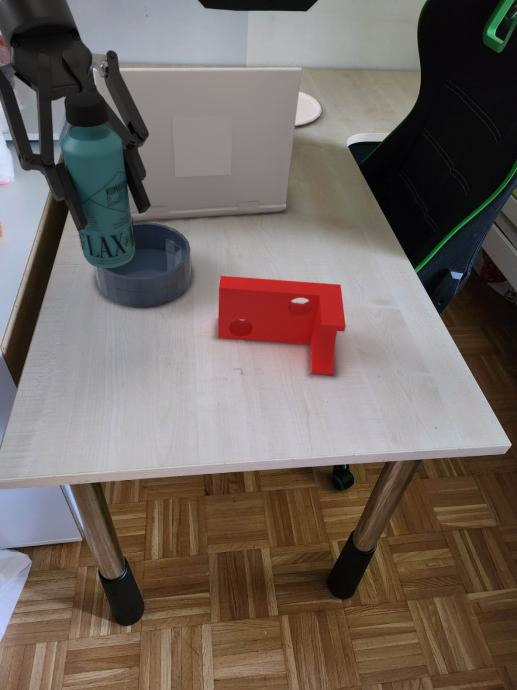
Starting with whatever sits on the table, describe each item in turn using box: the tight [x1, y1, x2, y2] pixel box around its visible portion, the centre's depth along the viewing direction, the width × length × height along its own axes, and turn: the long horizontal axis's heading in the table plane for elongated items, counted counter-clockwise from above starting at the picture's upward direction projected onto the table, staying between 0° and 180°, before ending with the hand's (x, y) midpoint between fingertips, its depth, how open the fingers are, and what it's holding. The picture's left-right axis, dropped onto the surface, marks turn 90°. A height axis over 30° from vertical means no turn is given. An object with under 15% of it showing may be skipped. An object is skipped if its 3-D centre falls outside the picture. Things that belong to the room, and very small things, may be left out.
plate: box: [295, 90, 323, 127], centre depth 147 cm, size 29×29×1 cm
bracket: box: [217, 275, 347, 376], centre depth 78 cm, size 18×10×10 cm
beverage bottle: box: [59, 92, 136, 268], centre depth 57 cm, size 6×7×20 cm
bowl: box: [93, 221, 192, 308], centre depth 89 cm, size 16×16×6 cm
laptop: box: [92, 66, 303, 222], centre depth 104 cm, size 35×26×28 cm
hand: (114, 217), depth 57 cm, fingers closed on beverage bottle, 6 cm apart
